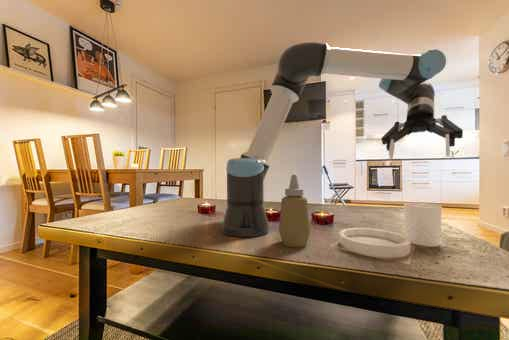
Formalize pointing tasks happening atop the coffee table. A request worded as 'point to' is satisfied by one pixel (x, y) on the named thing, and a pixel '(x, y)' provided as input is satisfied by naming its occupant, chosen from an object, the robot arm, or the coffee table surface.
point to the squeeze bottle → (294, 216)
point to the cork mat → (401, 260)
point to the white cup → (423, 223)
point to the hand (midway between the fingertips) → (417, 154)
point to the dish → (375, 243)
